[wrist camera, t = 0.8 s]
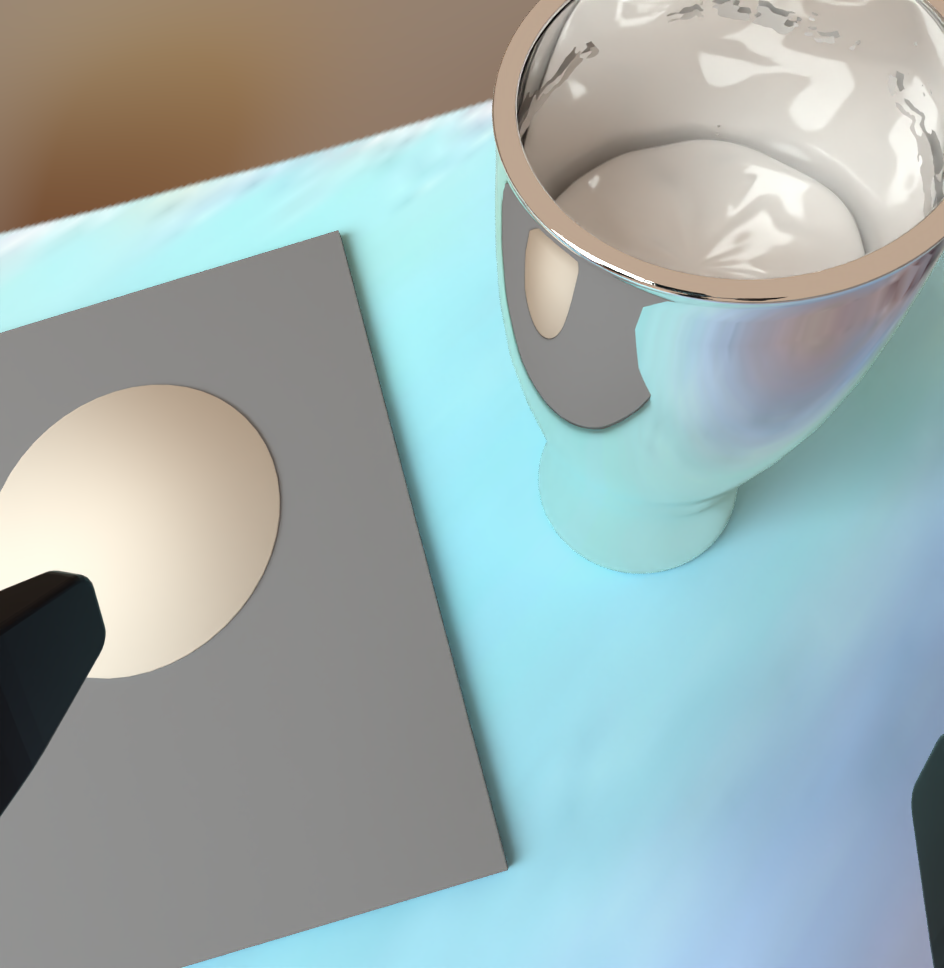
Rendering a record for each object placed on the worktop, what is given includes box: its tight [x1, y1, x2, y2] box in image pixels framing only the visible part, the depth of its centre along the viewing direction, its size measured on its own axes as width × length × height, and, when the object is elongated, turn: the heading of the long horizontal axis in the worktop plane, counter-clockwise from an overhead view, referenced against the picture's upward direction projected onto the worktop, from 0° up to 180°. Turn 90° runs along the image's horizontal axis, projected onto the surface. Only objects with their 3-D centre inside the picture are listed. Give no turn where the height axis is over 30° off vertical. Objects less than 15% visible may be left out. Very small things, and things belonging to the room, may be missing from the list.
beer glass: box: [492, 0, 944, 574], centre depth 17 cm, size 7×7×15 cm
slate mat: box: [0, 231, 508, 968], centre depth 24 cm, size 22×18×1 cm
